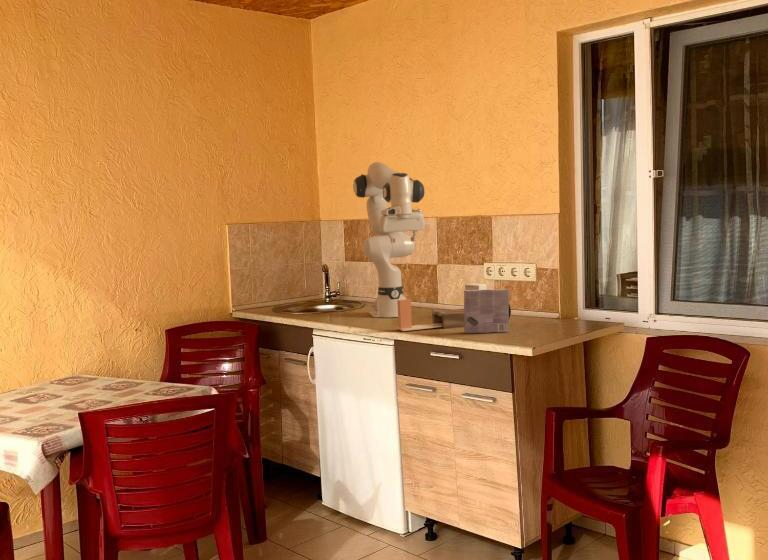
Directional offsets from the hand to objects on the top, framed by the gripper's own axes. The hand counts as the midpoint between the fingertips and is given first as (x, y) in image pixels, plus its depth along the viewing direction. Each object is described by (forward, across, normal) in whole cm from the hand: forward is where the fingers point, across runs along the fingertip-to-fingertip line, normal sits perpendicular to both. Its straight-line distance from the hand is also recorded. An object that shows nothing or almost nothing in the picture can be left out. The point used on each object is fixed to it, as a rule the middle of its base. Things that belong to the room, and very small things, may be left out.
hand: (403, 241), depth 359 cm
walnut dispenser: (+37, -19, +12) cm, 43 cm away
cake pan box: (+37, -21, +37) cm, 57 cm away
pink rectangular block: (+37, -2, +12) cm, 39 cm away
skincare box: (+37, -36, -3) cm, 52 cm away
